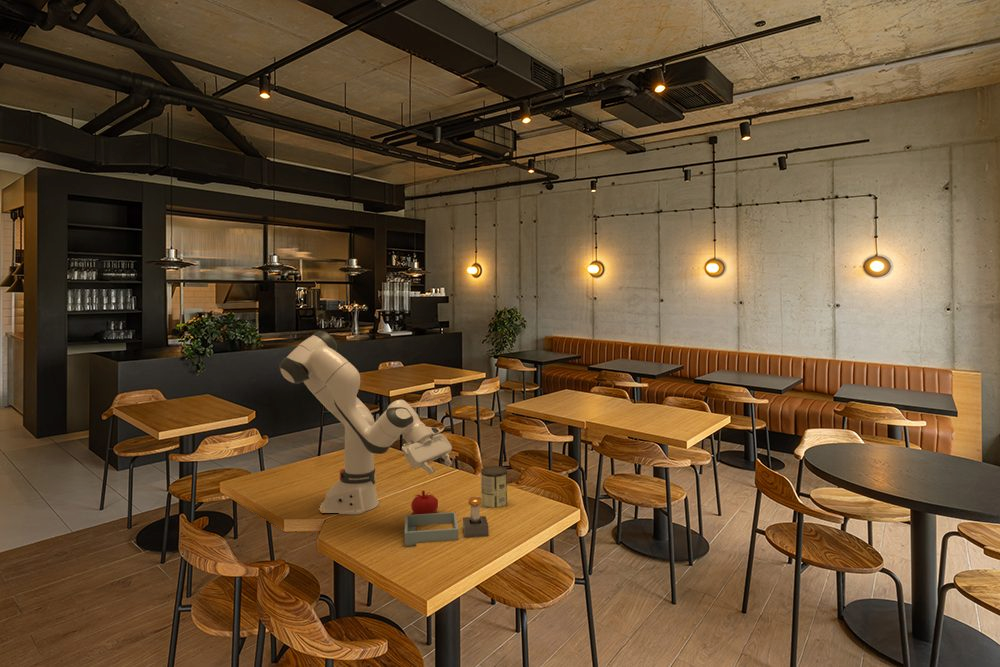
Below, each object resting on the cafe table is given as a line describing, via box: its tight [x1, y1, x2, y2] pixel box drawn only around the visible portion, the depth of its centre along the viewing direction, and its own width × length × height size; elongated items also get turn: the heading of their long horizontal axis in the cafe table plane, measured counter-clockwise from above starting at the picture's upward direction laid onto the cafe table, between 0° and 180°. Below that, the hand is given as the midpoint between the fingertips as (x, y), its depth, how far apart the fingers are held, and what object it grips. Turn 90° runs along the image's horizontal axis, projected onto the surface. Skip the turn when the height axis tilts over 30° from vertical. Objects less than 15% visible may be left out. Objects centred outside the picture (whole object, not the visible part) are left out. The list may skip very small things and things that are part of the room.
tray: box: [404, 511, 459, 547], centre depth 183 cm, size 18×15×4 cm
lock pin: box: [468, 496, 482, 524], centre depth 183 cm, size 4×4×11 cm
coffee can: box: [480, 465, 508, 509], centre depth 209 cm, size 10×10×14 cm
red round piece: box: [410, 490, 439, 515], centre depth 200 cm, size 10×10×9 cm
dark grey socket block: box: [462, 515, 489, 538], centre depth 183 cm, size 8×8×4 cm
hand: (441, 469), depth 188 cm, fingers open, 8 cm apart
